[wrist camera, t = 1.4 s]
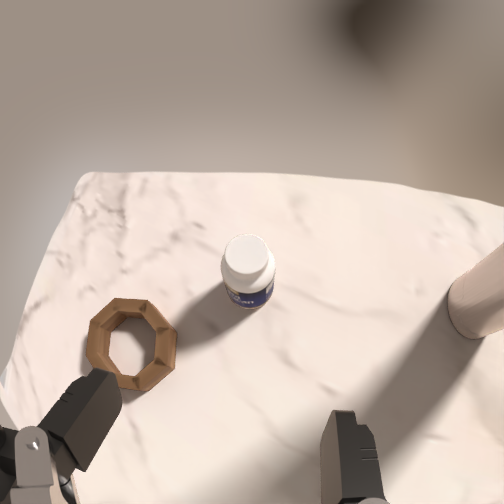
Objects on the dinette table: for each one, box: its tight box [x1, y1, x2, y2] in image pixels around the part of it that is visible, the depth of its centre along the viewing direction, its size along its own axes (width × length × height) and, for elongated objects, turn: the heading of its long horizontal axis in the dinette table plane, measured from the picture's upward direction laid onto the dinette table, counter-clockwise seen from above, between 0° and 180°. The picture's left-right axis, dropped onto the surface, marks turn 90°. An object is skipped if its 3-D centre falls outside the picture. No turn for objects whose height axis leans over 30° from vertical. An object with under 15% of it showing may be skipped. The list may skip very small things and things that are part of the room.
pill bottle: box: [221, 234, 275, 309], centre depth 32 cm, size 5×5×10 cm
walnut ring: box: [86, 298, 177, 391], centre depth 32 cm, size 10×10×3 cm
